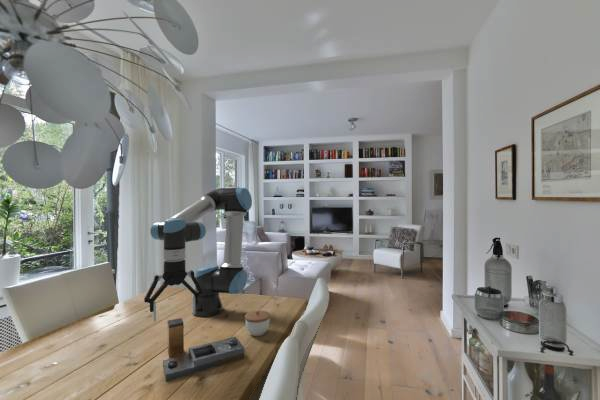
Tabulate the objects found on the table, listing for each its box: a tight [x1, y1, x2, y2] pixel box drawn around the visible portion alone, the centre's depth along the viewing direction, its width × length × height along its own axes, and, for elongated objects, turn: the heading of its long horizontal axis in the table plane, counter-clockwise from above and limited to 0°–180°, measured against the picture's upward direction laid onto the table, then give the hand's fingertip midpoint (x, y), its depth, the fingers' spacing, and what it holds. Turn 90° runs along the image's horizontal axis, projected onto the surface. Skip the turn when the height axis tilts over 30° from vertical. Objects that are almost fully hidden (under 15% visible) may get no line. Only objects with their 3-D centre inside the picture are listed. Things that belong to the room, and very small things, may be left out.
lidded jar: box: [244, 310, 271, 337], centre depth 127 cm, size 11×11×9 cm
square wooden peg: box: [166, 317, 185, 359], centre depth 111 cm, size 5×5×12 cm
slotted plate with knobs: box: [162, 336, 245, 382], centre depth 105 cm, size 10×26×5 cm, turn 120°
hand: (174, 316), depth 111 cm, fingers open, 13 cm apart
